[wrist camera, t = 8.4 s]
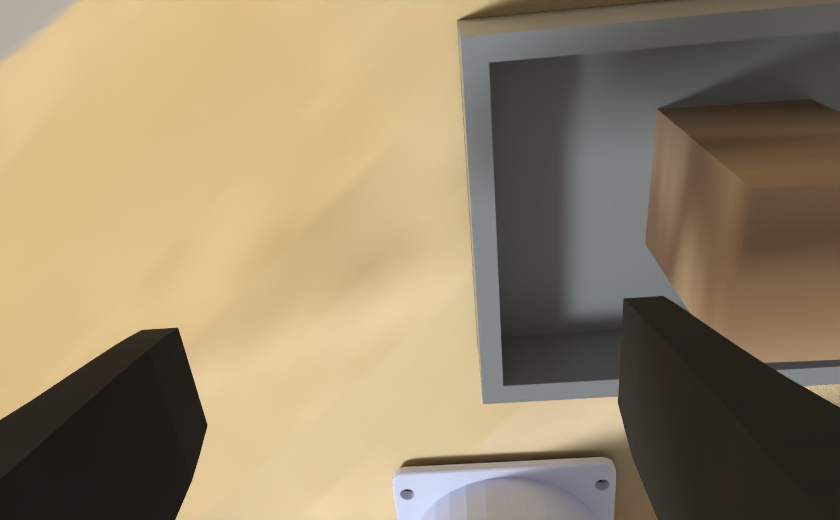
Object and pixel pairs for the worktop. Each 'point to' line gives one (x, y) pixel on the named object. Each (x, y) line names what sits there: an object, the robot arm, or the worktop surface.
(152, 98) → the worktop surface
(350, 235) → the worktop surface
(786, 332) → the walnut block
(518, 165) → the bin
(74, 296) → the worktop surface
